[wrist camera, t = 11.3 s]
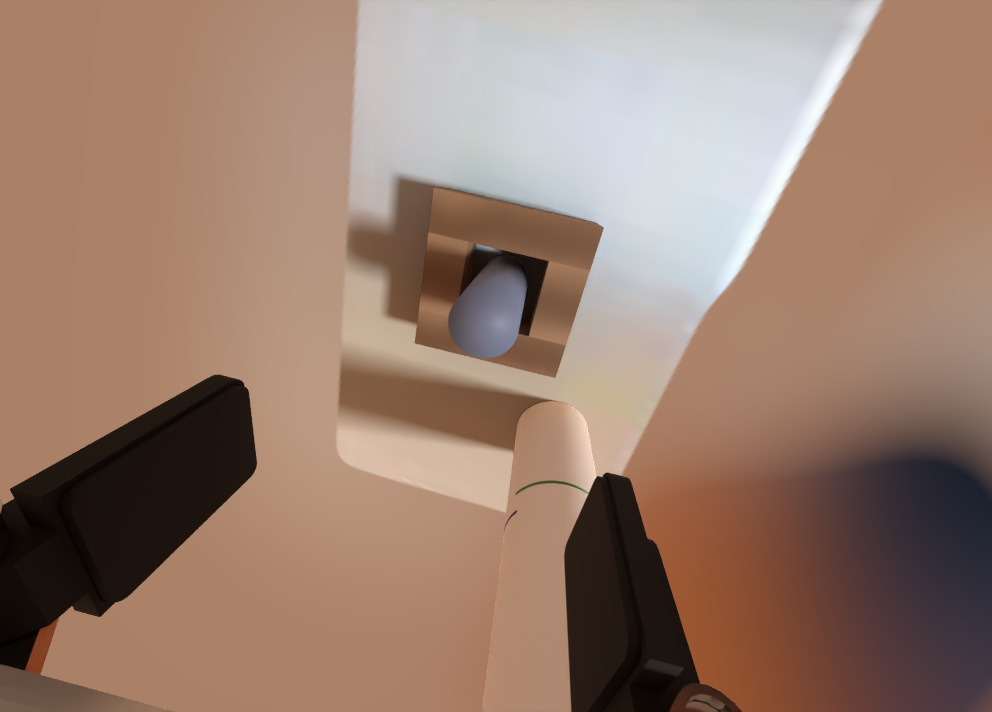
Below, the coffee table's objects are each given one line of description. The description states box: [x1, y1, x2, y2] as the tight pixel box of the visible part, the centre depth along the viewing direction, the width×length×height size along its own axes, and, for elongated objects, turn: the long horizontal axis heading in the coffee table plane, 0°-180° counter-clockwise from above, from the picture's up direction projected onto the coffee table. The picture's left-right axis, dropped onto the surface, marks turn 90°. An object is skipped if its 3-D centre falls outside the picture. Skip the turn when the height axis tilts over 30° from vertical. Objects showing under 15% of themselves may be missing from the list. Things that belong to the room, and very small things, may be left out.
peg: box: [448, 255, 528, 358], centre depth 25 cm, size 4×4×12 cm
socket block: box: [415, 188, 604, 378], centre depth 29 cm, size 12×12×4 cm
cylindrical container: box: [482, 401, 596, 712], centre depth 25 cm, size 7×7×25 cm
